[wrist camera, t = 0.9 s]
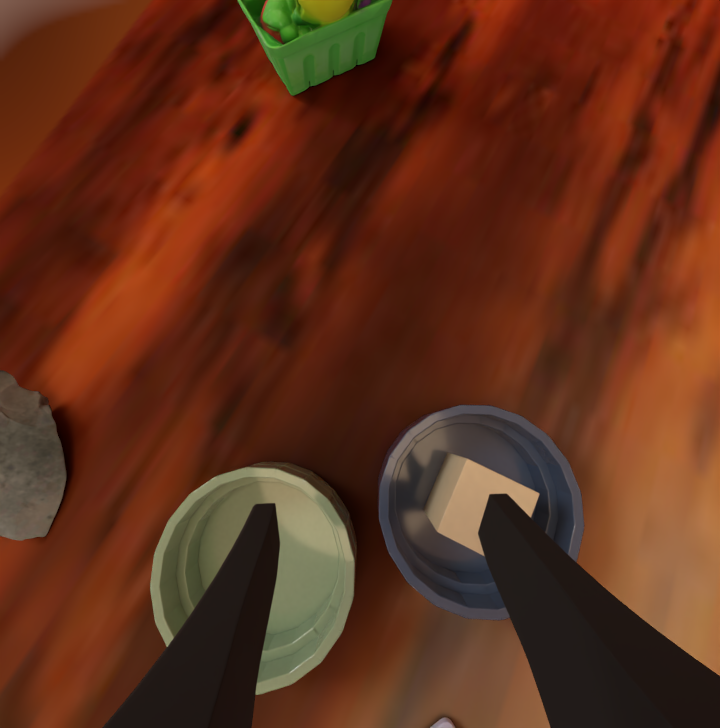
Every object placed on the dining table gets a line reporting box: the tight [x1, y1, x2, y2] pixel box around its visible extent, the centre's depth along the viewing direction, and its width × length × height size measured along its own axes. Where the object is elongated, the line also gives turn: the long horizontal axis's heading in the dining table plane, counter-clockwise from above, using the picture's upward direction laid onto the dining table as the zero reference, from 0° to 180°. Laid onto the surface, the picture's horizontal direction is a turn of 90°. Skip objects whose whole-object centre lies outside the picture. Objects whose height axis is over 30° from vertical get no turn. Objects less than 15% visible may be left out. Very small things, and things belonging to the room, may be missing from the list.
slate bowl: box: [378, 405, 584, 620], centre depth 22 cm, size 12×12×4 cm
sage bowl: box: [150, 462, 357, 695], centre depth 22 cm, size 12×12×4 cm
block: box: [423, 453, 539, 556], centre depth 21 cm, size 4×4×5 cm
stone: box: [0, 370, 67, 540], centre depth 24 cm, size 11×4×10 cm
